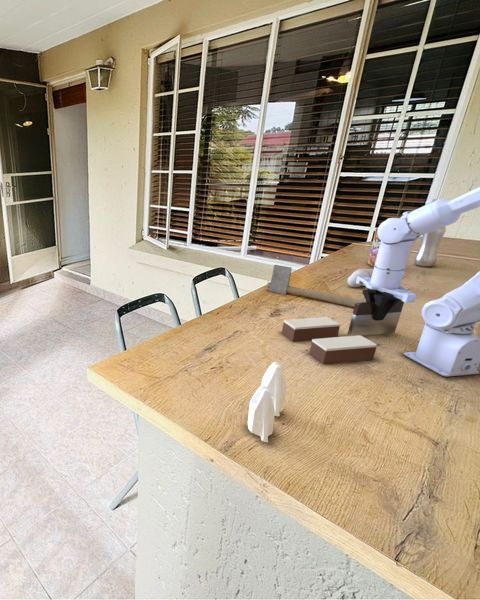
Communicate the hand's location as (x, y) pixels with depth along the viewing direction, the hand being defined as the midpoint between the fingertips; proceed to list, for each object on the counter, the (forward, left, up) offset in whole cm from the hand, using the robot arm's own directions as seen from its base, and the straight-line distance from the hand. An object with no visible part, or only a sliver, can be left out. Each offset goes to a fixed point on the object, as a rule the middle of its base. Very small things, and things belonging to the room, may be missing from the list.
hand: (375, 318), depth 90 cm
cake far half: (+2, +15, -5) cm, 16 cm away
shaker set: (-27, +44, -5) cm, 52 cm away
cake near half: (-9, +15, -5) cm, 18 cm away
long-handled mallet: (+26, -3, -5) cm, 27 cm away
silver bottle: (+51, -67, -5) cm, 84 cm away
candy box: (+54, -50, -5) cm, 74 cm away
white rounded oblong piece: (+36, -28, -5) cm, 46 cm away
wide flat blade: (0, 0, -4) cm, 4 cm away
